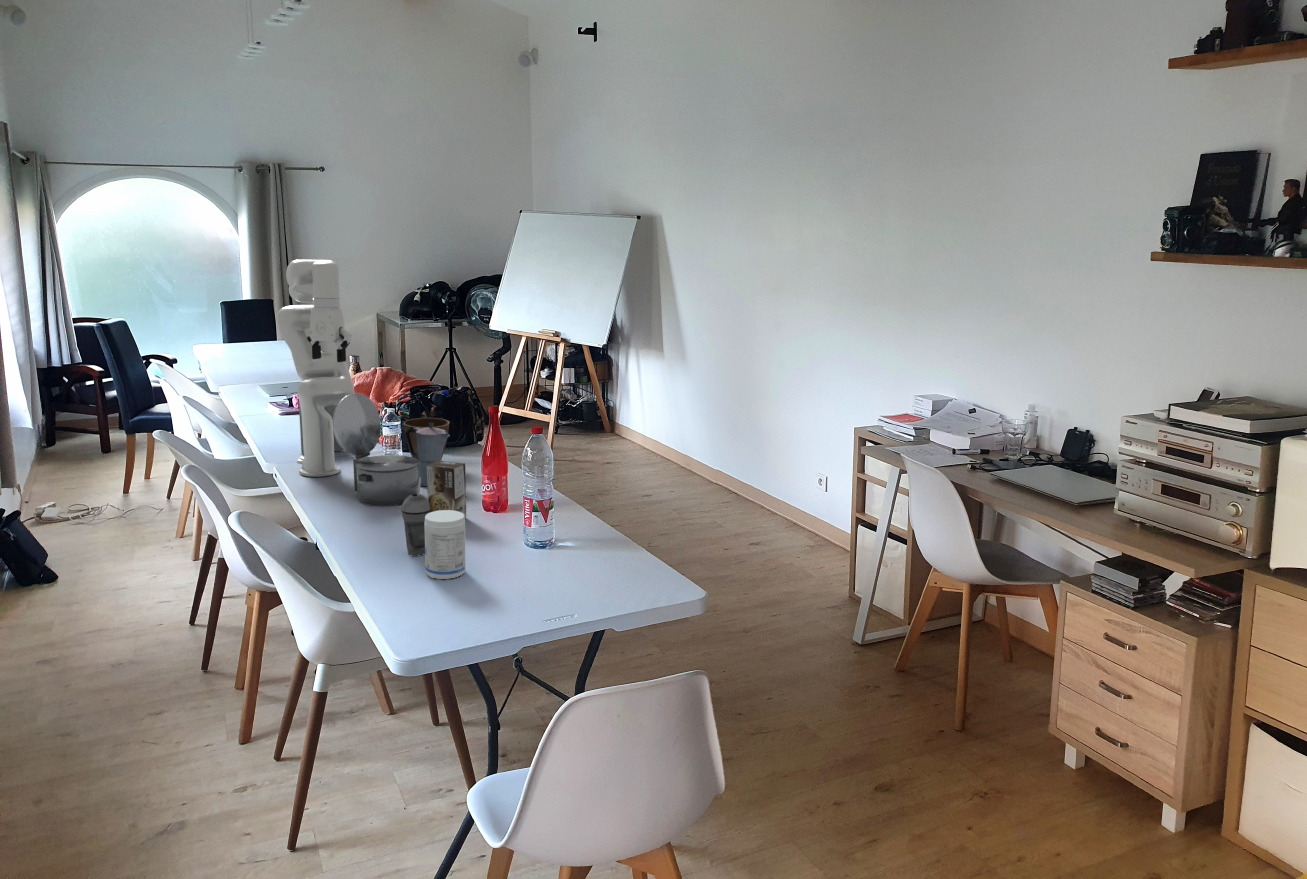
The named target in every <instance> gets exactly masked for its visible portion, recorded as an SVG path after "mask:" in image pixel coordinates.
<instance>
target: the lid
mask: <svg viewBox="0 0 1307 879" xmlns="http://www.w3.org/2000/svg"><path fill="white" fill-rule="evenodd" d="M381 423H382V422H381V416H380V413H379V411H378V408H377V406H376V404H375V403H374V402H373V400H372V399H370V397H368V396H366V395H365V394H362V393H355V394H349V395H346V396H345V397H343V398H342V399H341V400H340V401H339V403H338V404H337V406H336V408H335V411H334V415H333V431H334V435H335V438H336V440H337V442H338V444H339V445H340V447H341V448H342V449H343V451H344V452H345V453H347V454H349V455H351V456H355V457H354V459H359V458H363V457H366V456H368V457H370V455H371V452H372V451H373V450H374V449H375V447H376V445H377V444H378V442H379V439H380V437H381V431H382V429H381V428H382V424H381Z"/></svg>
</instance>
